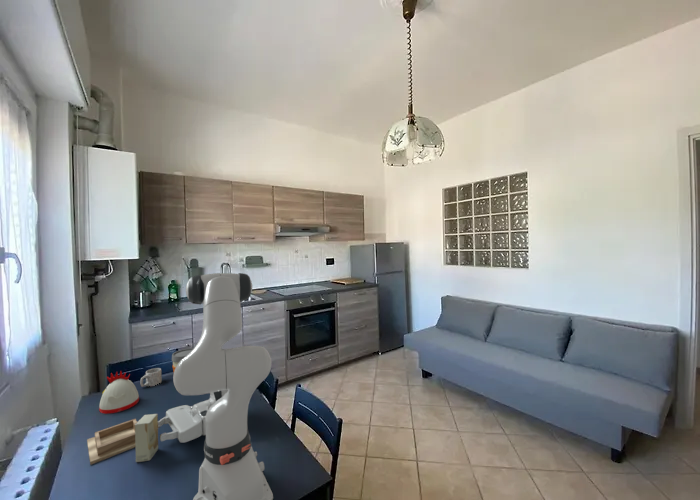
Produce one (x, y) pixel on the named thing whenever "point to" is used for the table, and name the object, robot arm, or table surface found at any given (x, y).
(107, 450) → the oak stand
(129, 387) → the kitchen timer
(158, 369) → the mug
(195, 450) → the table surface
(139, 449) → the skincare box
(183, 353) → the reusable coffee cup
